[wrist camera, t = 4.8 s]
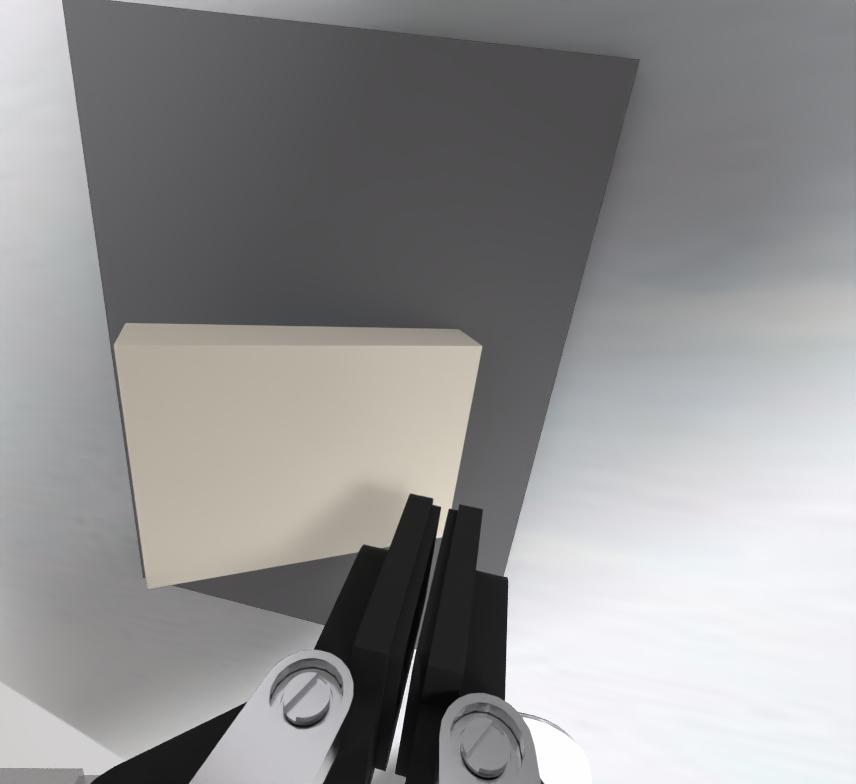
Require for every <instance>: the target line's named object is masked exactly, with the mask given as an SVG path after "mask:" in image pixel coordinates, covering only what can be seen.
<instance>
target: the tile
mask: <svg viewBox="0 0 856 784" xmlns="http://www.w3.org/2000/svg"><path fill="white" fill-rule="evenodd" d="M114 351H115V359H116V366H117V373H118V380H119V388H120V395H121V402H122V409H123V417H124V424H125V431H126V438H127V446H128V453H129V460H130V467H131V475H132V482H133V489H134V496H135V504H136V511H137V518H138V525H139V533H140V540H141V547H142V554H143V562H144V569H145V576H146V583H147V589H152V588H158V587H163V586H169V585H175V584H180V583H186V582H192V581H197V580H203V579H209V578H214V577H220V576H226V575H231V574H237V573H243V572H248V571H254V570H260V569H265V568H271V567H277V566H282V565H288V564H294V563H299V562H305V561H311V560H316V559H322V558H328V557H333V556H339V555H345V554H350V553H356V552H359V550H360V548H361V547H362V545H363V544H365V545H369V546H373V547H378V548H384V547H390V545H391V542H392V540H393V537H394V534H395V532H396V529H397V526H398V524H399V521H400V518H401V516H402V513H403V510H404V507H405V505H406V502H407V499H408V497H409V495H410V493H411V494H416V495H420V496H425V497H429V498H433V505H436V506H440V507H441V513H440V519H439V524H438V530H437V536H436V538H441V537H442V536H443V531H444V527H445V523H446V518H447V514H448V510H449V509H451V508H452V503H453V498H454V492H455V487H456V482H457V477H458V472H459V466H460V461H461V456H462V451H463V445H464V440H465V435H466V430H467V424H468V419H469V414H470V409H471V403H472V398H473V393H474V388H475V383H476V377H477V372H478V367H479V362H480V356H481V351H482V345H480V344H479V343H478V342H476V341H475V340H473V339H472V338H471V337H469V336H468V335H466V334H465V333H464V332H462V331H461V330H459V329H428V328H373V327H318V326H264V325H209V324H154V323H125V325H124V327H123V329H122V331H121V332H120V334H119V336H118V338H117V340H116V342H115V344H114Z"/></svg>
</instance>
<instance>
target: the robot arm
mask: <svg viewBox="0 0 856 784" xmlns="http://www.w3.org/2000/svg"><path fill="white" fill-rule="evenodd" d="M440 513H441V507H440V506H436V505H433V498H429V497H425V496H420V495H416V494H411V493H410V495H409V497H408V499H407V502H406V505H405V507H404V510H403V513H402V516H401V518H400V521H399V524H398V526H397V529H396V532H395V534H394V537H393V540H392V542H391V545H390V548H389V550H386V549H382V548H378V547H373V546H369V545H365V544H363V545H362V547H361V548H360V550H359V552H358V554H357V557H356V559H355V561H354V563H353V565H352V567H351V570H350V572H349V574H348V576H347V578H346V581H345V583H344V585H343V587H342V589H341V592H340V594H339V596H338V598H337V600H336V602H335V605H334V607H333V609H332V611H331V613H330V616H329V618H328V620H327V622H326V624H325V627H324V629H323V631H322V633H321V635H320V637H319V640H318V642H317V644H316V646H315V648H314V650H304V651H301V652H297V653H294V654H291V655H289V656H288V657H286V658H285V659H283V660H281V661H280V662H278V663H277V664H276V665H275V666H274V667H273V669H272V670H271V671H270V672H269V673H268V674H267V675H266V677H265V678H264V680H263V681H262V682H261V684H260V685H259V687H258V688H257V689H256V691H255V692H254V694H253V695H252V696H251V698H250V699H249V701H248V702H246V703H244V704H242V705H240V706H238V707H236V708H234V709H232V710H230V711H228V712H226V713H224V714H221V715H219V716H217V717H215V718H213V719H211V720H209V721H207V722H205V723H203V724H201V725H199V726H197V727H195V728H193V729H191V730H189V731H187V732H185V733H182V734H180V735H178V736H176V737H174V738H172V739H170V740H168V741H166V742H164V743H162V744H160V745H158V746H156V747H154V748H152V749H150V750H148V751H146V752H144V753H141V754H139V755H137V756H135V757H133V758H131V759H129V760H127V761H125V762H123V763H121V764H119V765H117V766H115V767H113V768H112V769H110V770H108V771H107V772H105V773H104V774H102V775H98V776H97V775H95V776H94V775H91V776H90V775H88V776H87V775H86V776H85V775H84V773H83V769H37V768H32V769H30V768H29V769H28V768H20V769H19V768H18V769H17V768H16V769H15V768H14V769H13V768H11V769H10V768H6V769H5V768H0V784H371V781H372V777H373V773H374V769H375V768H376V769H380V770H383V771H386V768H387V764H388V760H389V755H390V751H391V747H392V743H393V738H394V734H395V730H396V725H397V721H398V717H399V713H400V708H401V704H402V700H403V695H404V691H405V687H406V683H407V678H408V674H409V670H410V665H411V661H412V657H413V653H414V648H415V644H416V640H417V635H418V631H419V627H420V623H421V618H422V614H423V610H424V605H425V600H426V595H427V589H428V583H429V577H430V571H431V566H432V560H433V554H434V548H435V542H436V536H437V530H438V524H439V519H440ZM482 514H483V509H480V508H476V507H471V506H466V505H462V504H459V508H458V510H454V509H449V510H448V514H447V518H446V523H445V527H444V531H443V536H442V540H441V544H440V549H439V553H438V558H437V562H436V566H435V571H434V575H433V579H432V584H431V588H430V593H429V597H428V601H427V606H426V610H425V615H424V619H423V623H422V628H421V632H420V636H419V641H418V645H417V650H416V655H415V660H414V665H413V670H412V676H411V682H410V688H409V693H408V699H407V705H406V711H405V717H404V723H403V729H402V735H401V741H400V747H399V753H398V758H397V764H396V770H395V774H397V775H401V776H404V777H406V782H405V784H544V782H543V781H542V779H541V778H540V774H539V768H538V762H537V756H536V750H535V745H534V741H533V738H532V735H531V732H530V729H529V727H528V726H527V724H526V722H525V721H524V719H523V717H522V716H521V715H520V714H519V713H518V712H517V711H516V710H515V709H514V708H513V707H512V706H511V705H510V704H509V703H507V702H505V677H506V641H507V606H508V579H507V577H503V576H498V575H494V574H490V573H486V572H481V571H477V570H476V566H477V557H478V549H479V540H480V531H481V523H482Z"/></svg>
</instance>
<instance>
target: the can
mask: <svg viewBox="0 0 856 784" xmlns="http://www.w3.org/2000/svg"><path fill="white" fill-rule="evenodd" d="M519 714H520V715H521V716H522V717H523V719H524V721H525V722H526V724H527V726H528V727H529V729H530V732H531V735H532V738H533V741H534V745H535V750H536V756H537V762H538V768H539V774H540V778H541V779H542V781H543V782H544V784H592V782H591V775H590V769H589V764H588V761H587V758H586V756H585V754H584V753H583V751H582V750H581V748H580V747H579V746H578V745H577V744H576V743H575V741H574V740H573V739H572V738H571V737H570V736H569V735H568V734H567V733H566V732H565V731H563V730H562V729H561V728H559V727H558V726H556V725H554V724H552V723H550V722H548V721H546V720H544V719H541V718H538V717H535V716H531V715H527V714H521V713H519Z"/></svg>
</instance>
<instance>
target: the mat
mask: <svg viewBox="0 0 856 784" xmlns="http://www.w3.org/2000/svg"><path fill="white" fill-rule="evenodd" d="M62 3H63V10H64V17H65V24H66V31H67V38H68V46H69V53H70V60H71V67H72V74H73V81H74V88H75V95H76V103H77V110H78V117H79V124H80V131H81V138H82V145H83V152H84V159H85V167H86V174H87V181H88V188H89V195H90V202H91V209H92V216H93V223H94V231H95V238H96V245H97V252H98V259H99V266H100V273H101V280H102V287H103V295H104V302H105V309H106V316H107V323H108V330H109V337H110V344H111V352H112V359H113V366H114V373H115V380H116V387H117V394H118V401H119V408H120V416H121V423H122V430H123V437H124V444H125V451H126V458H127V465H128V472H129V480H130V487H131V494H132V501H133V508H134V515H135V522H136V529H137V536H138V544H139V551H140V558H141V565H142V572H143V578H146V576H145V569H144V562H143V554H142V547H141V540H140V533H139V525H138V518H137V511H136V504H135V496H134V489H133V482H132V475H131V467H130V460H129V453H128V446H127V438H126V431H125V424H124V417H123V409H122V402H121V395H120V388H119V380H118V373H117V366H116V359H115V351H114V344H115V342H116V340H117V338H118V336H119V334H120V332H121V331H122V329H123V327H124V325H125V323H154V324H209V325H264V326H318V327H373V328H428V329H459V330H461V331H462V332H464V333H465V334H466V335H468V336H469V337H471V338H472V339H473V340H475V341H476V342H478V343H479V344H480V345H482V351H481V356H480V362H479V367H478V372H477V377H476V383H475V388H474V393H473V398H472V403H471V409H470V414H469V419H468V424H467V430H466V435H465V440H464V445H463V451H462V456H461V461H460V466H459V472H458V477H457V482H456V487H455V492H454V498H453V503H452V508H451V509H454V510H458V508H459V504H462V505H466V506H471V507H476V508H480V509H483V514H482V523H481V531H480V540H479V549H478V557H477V566H476V570H477V571H481V572H486V573H490V574H494V575H498V576H503V575H504V572H505V568H506V564H507V560H508V556H509V553H510V549H511V545H512V541H513V538H514V534H515V530H516V526H517V522H518V519H519V515H520V511H521V507H522V503H523V500H524V496H525V492H526V488H527V484H528V481H529V477H530V473H531V469H532V466H533V462H534V458H535V454H536V450H537V447H538V443H539V439H540V435H541V431H542V428H543V424H544V420H545V416H546V412H547V409H548V405H549V401H550V397H551V393H552V390H553V386H554V382H555V378H556V375H557V371H558V367H559V363H560V359H561V356H562V352H563V348H564V344H565V340H566V337H567V333H568V329H569V325H570V321H571V318H572V314H573V310H574V306H575V303H576V299H577V295H578V291H579V287H580V284H581V280H582V276H583V272H584V268H585V265H586V261H587V257H588V253H589V249H590V246H591V242H592V238H593V234H594V231H595V227H596V223H597V219H598V215H599V212H600V208H601V204H602V200H603V196H604V193H605V189H606V185H607V181H608V177H609V174H610V170H611V166H612V162H613V159H614V155H615V151H616V147H617V143H618V140H619V136H620V132H621V128H622V124H623V121H624V117H625V113H626V109H627V105H628V102H629V98H630V94H631V90H632V86H633V83H634V79H635V75H636V71H637V68H638V64H639V60H638V59H629V58H621V57H612V56H603V55H594V54H585V53H576V52H567V51H558V50H549V49H540V48H531V47H522V46H513V45H504V44H495V43H486V42H478V41H469V40H460V39H451V38H442V37H433V36H424V35H415V34H406V33H397V32H388V31H379V30H370V29H361V28H352V27H343V26H334V25H326V24H317V23H308V22H299V21H290V20H281V19H272V18H263V17H254V16H245V15H236V14H227V13H218V12H209V11H200V10H191V9H182V8H174V7H165V6H156V5H147V4H138V3H129V2H120V1H111V0H62ZM441 540H442V537H441V538H436V542H435V548H434V554H433V560H432V566H431V571H430V577H429V583H428V589H427V595H426V600H425V605H424V610H423V614H422V618H421V623H420V627H419V631H418V635H417V640H416V644H415V648H414V649H417V645H418V641H419V636H420V632H421V628H422V623H423V619H424V615H425V610H426V606H427V601H428V597H429V593H430V588H431V584H432V579H433V575H434V571H435V566H436V562H437V558H438V553H439V549H440V544H441ZM389 548H390V547H384V548H382V549H386V550H389ZM357 554H358V552H356V553H350V554H345V555H339V556H333V557H328V558H322V559H316V560H311V561H305V562H299V563H294V564H288V565H282V566H277V567H271V568H265V569H260V570H254V571H248V572H243V573H237V574H231V575H226V576H220V577H214V578H209V579H203V580H197V581H192V582H186V583H180V584H175V585H173V586H177V587H181V588H185V589H188V590H192V591H196V592H200V593H204V594H208V595H211V596H215V597H219V598H223V599H227V600H231V601H234V602H238V603H242V604H246V605H250V606H253V607H257V608H261V609H265V610H269V611H273V612H276V613H280V614H284V615H288V616H292V617H296V618H299V619H303V620H307V621H311V622H315V623H318V624H322V625H325V624H326V622H327V620H328V618H329V616H330V613H331V611H332V609H333V607H334V605H335V602H336V600H337V598H338V596H339V594H340V592H341V589H342V587H343V585H344V583H345V581H346V578H347V576H348V574H349V572H350V570H351V567H352V565H353V563H354V561H355V559H356V557H357Z"/></svg>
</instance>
